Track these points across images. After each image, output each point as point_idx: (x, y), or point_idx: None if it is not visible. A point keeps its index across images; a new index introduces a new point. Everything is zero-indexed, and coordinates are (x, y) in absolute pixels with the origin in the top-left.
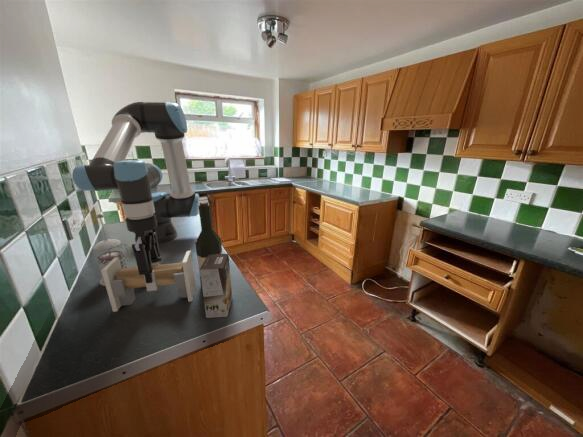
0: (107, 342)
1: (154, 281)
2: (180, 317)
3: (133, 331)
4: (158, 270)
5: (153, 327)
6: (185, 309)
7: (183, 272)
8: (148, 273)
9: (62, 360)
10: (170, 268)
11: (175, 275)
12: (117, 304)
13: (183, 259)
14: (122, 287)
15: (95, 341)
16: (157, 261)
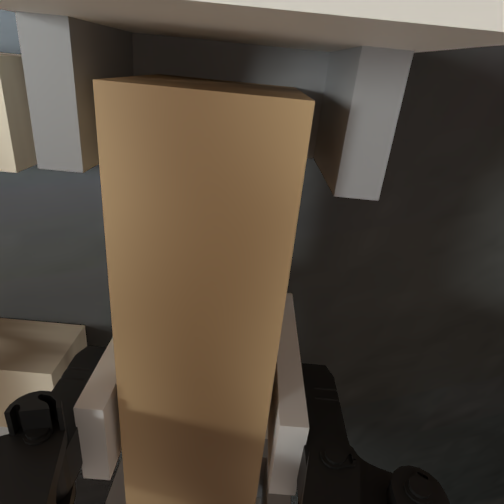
0: (487, 390)
1: (297, 347)
2: (491, 100)
3: (472, 319)
4: (264, 378)
5: (496, 240)
6: (420, 73)
7: (364, 65)
8: (437, 485)
9: (500, 477)
10: (254, 260)
11: (381, 175)
12: (267, 427)
13: (381, 14)
14: (290, 499)
15: (455, 425)
16: (64, 426)
